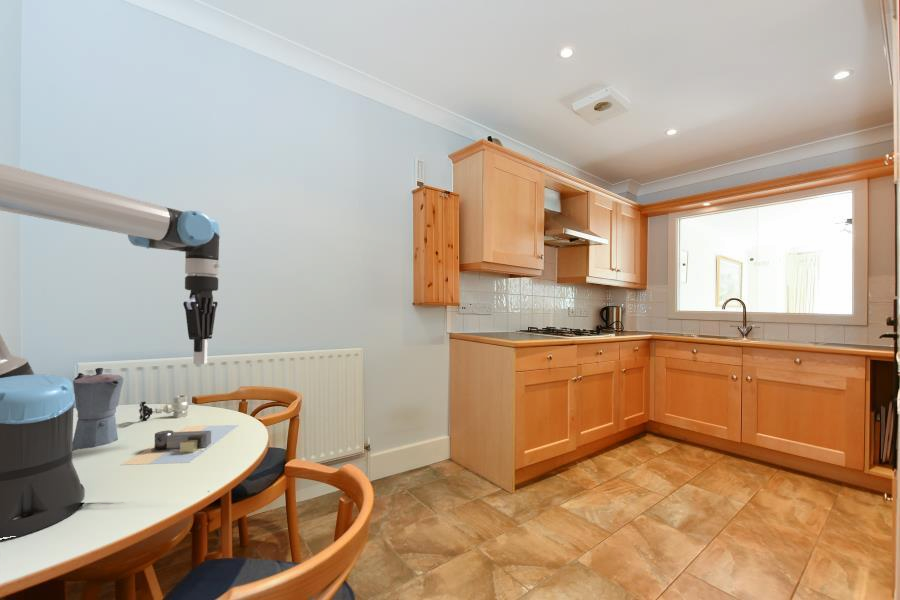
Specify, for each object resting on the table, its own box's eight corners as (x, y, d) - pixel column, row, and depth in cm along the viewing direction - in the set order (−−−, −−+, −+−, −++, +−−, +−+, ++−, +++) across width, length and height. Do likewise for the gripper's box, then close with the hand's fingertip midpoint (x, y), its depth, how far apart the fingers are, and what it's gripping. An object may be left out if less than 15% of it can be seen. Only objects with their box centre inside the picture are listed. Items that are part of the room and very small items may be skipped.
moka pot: (96, 457, 90) (98, 372, 90) (46, 451, 93) (48, 369, 93) (137, 442, 99) (138, 366, 99) (90, 437, 102) (92, 363, 102)
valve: (185, 413, 125) (138, 421, 116) (185, 393, 125) (139, 400, 116) (190, 417, 121) (143, 426, 112) (191, 397, 121) (143, 404, 112)
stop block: (193, 452, 90) (193, 442, 90) (179, 453, 90) (180, 442, 90) (197, 450, 92) (197, 439, 92) (183, 450, 91) (184, 440, 91)
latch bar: (151, 450, 90) (151, 435, 90) (159, 444, 94) (160, 430, 94) (205, 448, 92) (205, 433, 92) (211, 442, 96) (212, 428, 96)
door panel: (189, 467, 85) (189, 461, 85) (120, 470, 83) (120, 463, 83) (239, 429, 110) (239, 424, 110) (187, 430, 109) (187, 425, 109)
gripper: (204, 274, 96) (202, 367, 96) (228, 277, 109) (226, 359, 109) (172, 273, 95) (170, 367, 95) (200, 277, 108) (198, 360, 108)
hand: (200, 363), depth 102 cm, fingers closed
